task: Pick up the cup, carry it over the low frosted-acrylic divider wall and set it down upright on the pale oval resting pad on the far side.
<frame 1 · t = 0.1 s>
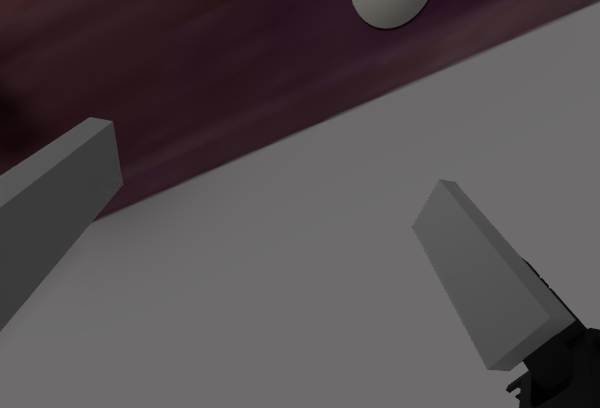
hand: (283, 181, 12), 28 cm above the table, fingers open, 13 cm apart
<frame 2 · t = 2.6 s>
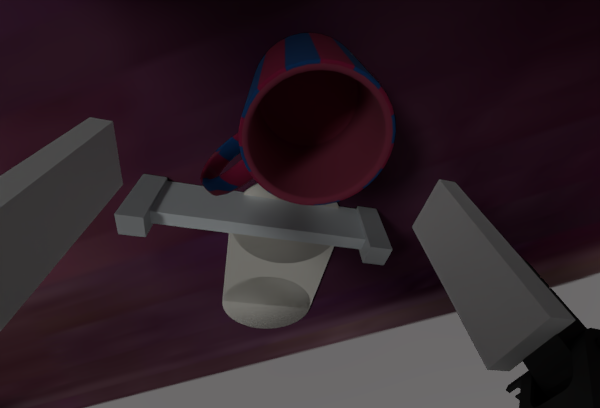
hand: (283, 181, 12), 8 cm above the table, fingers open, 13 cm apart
cup: (282, 104, 19), on the table
resting pad: (275, 267, 27), on the table
divider wall: (265, 200, 23), on the table
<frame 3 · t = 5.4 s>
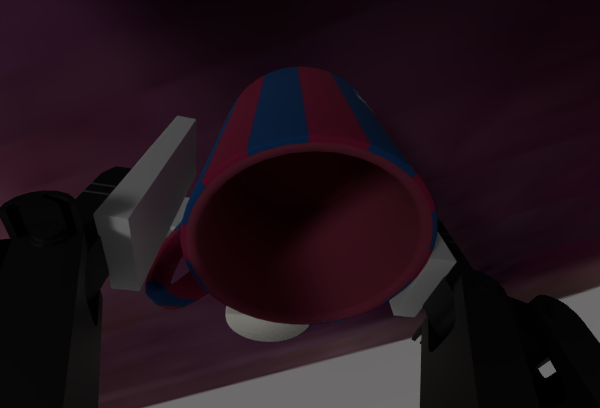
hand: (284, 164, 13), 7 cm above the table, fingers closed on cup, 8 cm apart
cup: (267, 157, 14), point 6 cm above the table, touching gripper
resting pad: (278, 280, 28), on the table
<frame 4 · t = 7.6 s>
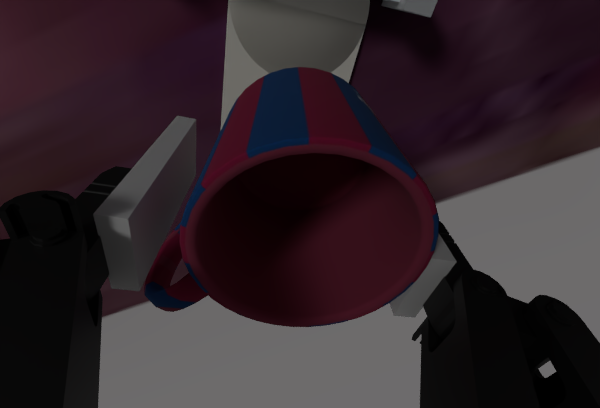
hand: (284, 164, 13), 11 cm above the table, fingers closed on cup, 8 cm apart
cup: (267, 158, 14), point 11 cm above the table, touching gripper
resting pad: (284, 92, 22), on the table
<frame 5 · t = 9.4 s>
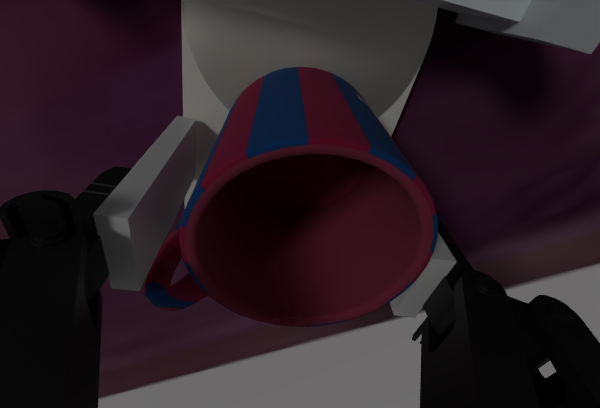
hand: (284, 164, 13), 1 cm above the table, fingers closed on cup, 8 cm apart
cup: (267, 157, 14), resting on resting pad, touching gripper
resting pad: (284, 157, 14), on the table
when the fingers open (1 cm above the table, at t = 10.2 s): cup stays where it is, resting on resting pad.
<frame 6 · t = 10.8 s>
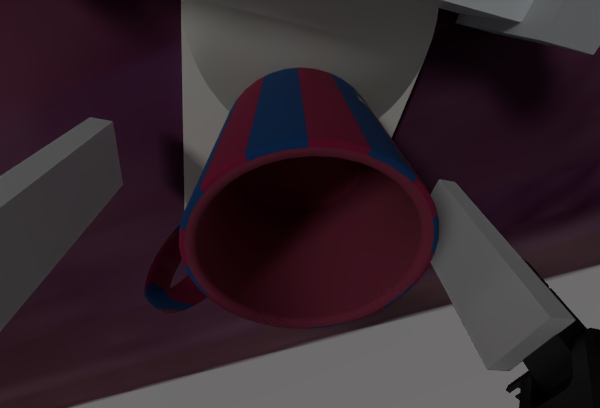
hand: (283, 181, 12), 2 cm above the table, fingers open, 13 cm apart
cup: (267, 158, 14), resting on resting pad
resting pad: (284, 158, 14), on the table
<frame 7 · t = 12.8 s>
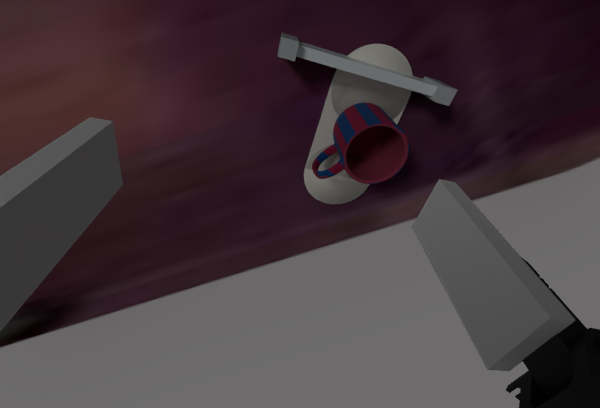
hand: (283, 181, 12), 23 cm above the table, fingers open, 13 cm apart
cup: (347, 135, 35), resting on resting pad
resting pad: (353, 135, 36), on the table
divider wall: (360, 65, 31), on the table
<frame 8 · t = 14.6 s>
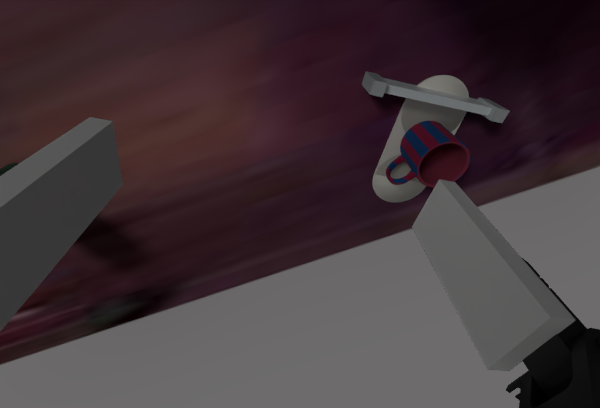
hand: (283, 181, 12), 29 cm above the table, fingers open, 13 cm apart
cup: (411, 146, 43), resting on resting pad
resting pad: (416, 146, 43), on the table
divider wall: (426, 92, 39), on the table
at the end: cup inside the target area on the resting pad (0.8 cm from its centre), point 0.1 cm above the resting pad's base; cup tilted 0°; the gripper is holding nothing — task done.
